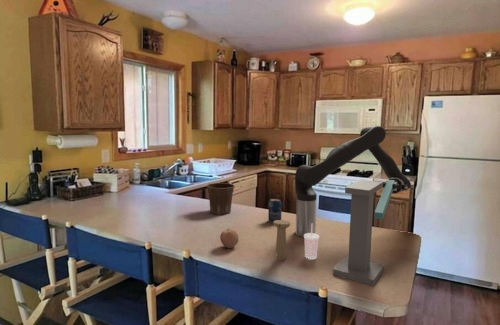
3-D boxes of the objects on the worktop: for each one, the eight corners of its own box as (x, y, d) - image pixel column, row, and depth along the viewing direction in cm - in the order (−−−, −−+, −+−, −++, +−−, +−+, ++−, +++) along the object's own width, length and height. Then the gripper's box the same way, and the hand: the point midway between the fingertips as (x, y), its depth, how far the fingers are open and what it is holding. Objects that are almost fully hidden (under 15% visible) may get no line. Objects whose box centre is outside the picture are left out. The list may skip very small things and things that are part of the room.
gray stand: (373, 285, 110) (378, 191, 106) (332, 274, 118) (336, 186, 114) (386, 266, 125) (391, 183, 121) (349, 257, 133) (353, 178, 129)
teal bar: (382, 219, 131) (382, 213, 130) (374, 218, 133) (374, 211, 132) (394, 186, 150) (394, 180, 149) (387, 185, 152) (387, 179, 151)
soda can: (270, 224, 174) (271, 201, 173) (266, 220, 181) (266, 198, 179) (283, 223, 176) (283, 201, 175) (278, 219, 183) (278, 197, 181)
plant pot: (233, 208, 205) (233, 182, 203) (235, 215, 189) (235, 187, 187) (207, 208, 203) (206, 182, 201) (207, 216, 187) (206, 188, 185)
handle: (275, 255, 134) (275, 219, 132) (290, 257, 132) (291, 221, 130) (271, 259, 130) (271, 222, 128) (286, 262, 127) (287, 225, 125)
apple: (229, 242, 148) (229, 225, 147) (242, 246, 143) (242, 228, 142) (216, 247, 142) (216, 229, 141) (229, 252, 137) (229, 233, 136)
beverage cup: (300, 257, 132) (301, 223, 130) (306, 252, 137) (307, 220, 135) (315, 261, 129) (316, 226, 127) (320, 256, 134) (322, 222, 132)
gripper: (380, 176, 164) (373, 175, 149) (411, 179, 157) (407, 179, 142) (378, 191, 164) (371, 192, 149) (409, 195, 157) (405, 196, 142)
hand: (388, 186), depth 146 cm, fingers closed on teal bar, 3 cm apart
